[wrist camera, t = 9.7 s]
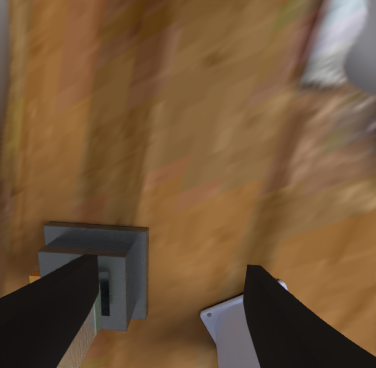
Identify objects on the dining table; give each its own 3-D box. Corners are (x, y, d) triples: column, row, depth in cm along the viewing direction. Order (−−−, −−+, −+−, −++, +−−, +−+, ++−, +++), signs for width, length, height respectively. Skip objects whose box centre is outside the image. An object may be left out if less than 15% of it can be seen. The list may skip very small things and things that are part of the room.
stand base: (148, 227, 21) (139, 245, 17) (147, 311, 23) (139, 342, 19) (50, 221, 21) (21, 237, 18) (58, 305, 23) (35, 334, 20)
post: (99, 282, 17) (42, 370, 11) (101, 324, 18) (49, 427, 11) (50, 279, 17) (-36, 363, 11) (55, 320, 18) (-22, 420, 12)
